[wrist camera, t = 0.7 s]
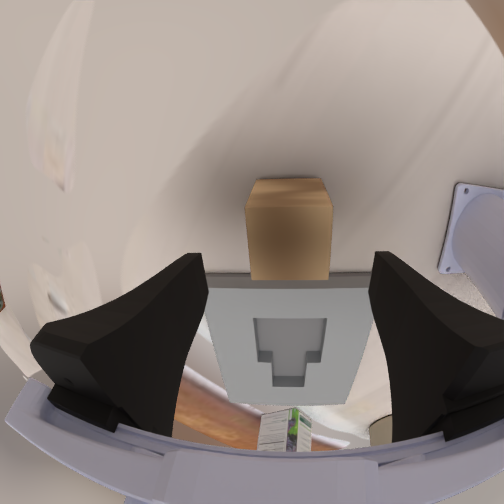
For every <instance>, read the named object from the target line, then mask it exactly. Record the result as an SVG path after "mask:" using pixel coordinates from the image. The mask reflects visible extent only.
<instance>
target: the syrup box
mask: <svg viewBox="0 0 504 504" xmlns="http://www.w3.org/2000/svg"><path fill="white" fill-rule="evenodd" d="M311 427H312V421H311V419H308V418H307V417H306V416H305V415H304V414H302V413H301V412H300V411H298V410H297V409H296V408H291V409H286V410H282V411H277V412H273V413H269V414H264V415H262V416H261V423H260V430H259V437H258V444H257V450H259V451H280V452H311Z"/></svg>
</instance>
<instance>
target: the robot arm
mask: <svg viewBox="0 0 504 504" xmlns="http://www.w3.org/2000/svg"><path fill="white" fill-rule="evenodd" d="M465 188H466V192H464V190H465ZM447 267H448V268H447ZM446 268H447V269H446ZM438 271H439V272H440V273H441V274H450V273H466V274H467V276H468V277H469V278H470V280H471V281H472V282H473V284H474V285H475V286H476V288H477V289H478V290H479V292H480V293H481V295H482V296H483V297H484V299H485V300H486V302H487V303H488V305H489V306H490V308H491V309H492V311H493V312H494V314H495V315H496V317H494V316H492V315H489V314H487V313H484V312H482V311H480V310H478V309H476V308H474V307H472V306H470V305H468V304H466V303H464V302H462V301H460V300H458V299H456V298H455V297H453V296H452V295H450V294H448V293H446V292H445V291H443V290H442V289H440V288H439V287H437V286H436V285H435V284H433V283H432V282H430V281H429V280H427V279H426V278H425V277H423V276H422V275H421V274H419V273H418V272H417V271H415V270H414V269H413V268H411V267H410V266H409V265H408V264H406V263H405V262H404V261H402V260H401V259H400V258H398V257H397V256H395V255H394V254H392V253H391V252H389V251H375V256H374V262H373V268H372V274H371V279H370V284H369V289H368V294H369V300H370V305H371V310H372V314H373V317H374V320H375V323H376V326H377V329H378V333H379V336H380V339H381V342H382V346H383V349H384V352H385V356H386V361H387V366H388V373H389V380H390V390H391V401H392V443H389V444H384V445H377V446H371V447H363V448H355V449H345V450H332V451H312V452H280V451H259V450H246V449H236V448H227V447H220V446H213V445H206V444H200V443H195V442H189V441H184V440H180V439H175V438H172V429H173V421H174V414H175V408H176V402H177V396H178V391H179V387H180V382H181V377H182V373H183V369H184V365H185V361H186V358H187V355H188V352H189V350H190V347H191V344H192V342H193V339H194V337H195V334H196V332H197V329H198V327H199V324H200V322H201V319H202V317H203V314H204V311H205V307H206V303H207V299H208V294H209V290H208V285H207V280H206V275H205V270H204V265H203V260H202V255H201V253H187V254H185V255H183V256H182V257H180V258H179V259H177V260H176V261H174V262H173V263H171V264H170V265H169V266H167V267H166V268H164V269H163V270H162V271H160V272H159V273H157V274H156V275H155V276H153V277H152V278H150V279H149V280H147V281H145V282H144V283H142V284H141V285H139V286H138V287H136V288H135V289H133V290H131V291H130V292H128V293H126V294H124V295H122V296H121V297H119V298H117V299H115V300H113V301H111V302H108V303H106V304H104V305H102V306H99V307H97V308H95V309H92V310H90V311H87V312H84V313H81V314H79V315H76V316H72V317H69V318H65V319H61V320H57V321H53V322H49V323H46V324H45V325H44V326H43V327H42V329H41V330H40V331H39V333H38V334H37V335H36V336H35V338H34V339H33V340H32V342H31V344H30V348H31V352H32V354H33V356H34V358H35V360H36V361H37V362H38V364H39V365H40V366H41V368H42V369H43V370H44V371H45V372H46V374H47V375H48V376H49V377H50V379H51V380H52V381H53V382H54V383H55V385H54V387H53V389H51V388H49V387H48V386H47V385H45V384H44V383H42V382H40V381H38V380H36V379H34V378H32V377H29V379H28V381H27V382H26V384H25V385H24V387H23V389H22V390H21V392H20V393H19V395H18V397H17V399H16V400H15V402H14V404H13V405H12V407H11V409H10V410H9V412H8V414H7V416H6V418H5V422H6V423H7V424H8V425H10V426H11V427H12V428H13V429H14V430H16V431H17V432H18V433H19V434H20V435H22V436H23V437H24V438H26V439H27V440H28V441H30V442H31V443H32V444H34V445H35V446H36V447H38V448H39V449H40V450H42V451H43V452H45V453H46V454H48V455H50V456H51V457H53V458H54V459H56V460H57V461H59V462H60V463H62V464H64V465H65V466H67V467H69V468H71V469H72V470H74V471H76V472H78V473H80V474H81V475H83V476H85V477H87V478H88V479H90V480H92V481H94V482H96V483H98V484H100V485H103V486H105V487H107V488H109V489H111V490H114V491H116V492H118V493H120V494H123V495H125V496H126V498H125V501H124V504H434V503H437V502H440V501H442V500H445V499H447V498H450V497H452V496H455V495H457V494H459V493H461V492H464V491H466V490H468V489H470V488H472V487H474V486H476V485H478V484H480V483H482V482H484V481H486V480H488V479H490V478H491V477H493V476H495V475H497V474H498V473H500V472H502V471H504V190H503V189H497V188H491V187H485V186H479V185H472V184H465V183H458V184H457V185H456V188H455V193H454V199H453V205H452V211H451V216H450V221H449V226H448V230H447V235H446V239H445V243H444V247H443V251H442V255H441V259H440V262H439V266H438Z"/></svg>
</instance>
